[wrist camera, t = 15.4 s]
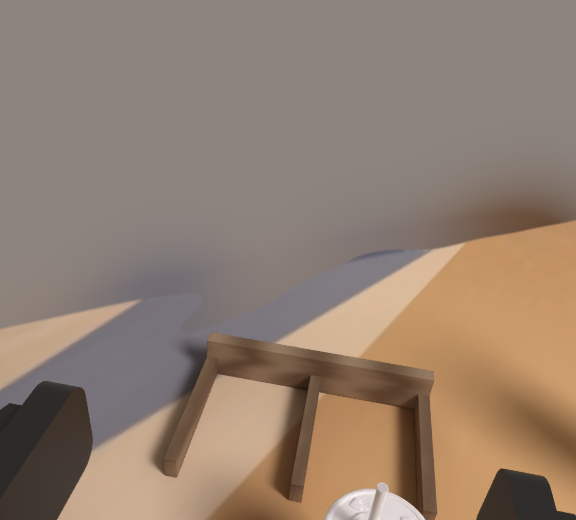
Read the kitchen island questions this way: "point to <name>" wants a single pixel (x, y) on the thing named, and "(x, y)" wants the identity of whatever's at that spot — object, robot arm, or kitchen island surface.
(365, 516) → the smoothie
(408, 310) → the kitchen island surface
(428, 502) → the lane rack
